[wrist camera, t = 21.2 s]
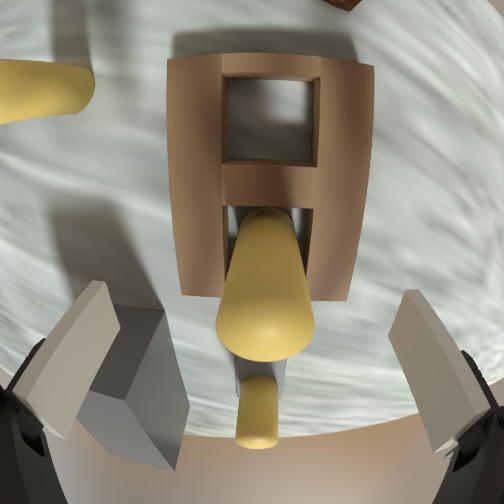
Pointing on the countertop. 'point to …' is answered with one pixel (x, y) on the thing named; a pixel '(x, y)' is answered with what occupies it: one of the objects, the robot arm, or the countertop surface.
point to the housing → (138, 393)
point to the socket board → (268, 166)
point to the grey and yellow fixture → (258, 401)
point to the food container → (343, 4)
